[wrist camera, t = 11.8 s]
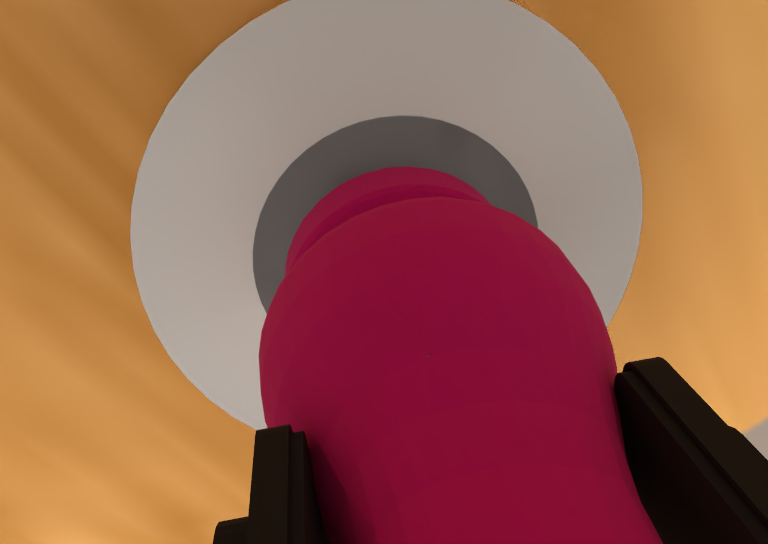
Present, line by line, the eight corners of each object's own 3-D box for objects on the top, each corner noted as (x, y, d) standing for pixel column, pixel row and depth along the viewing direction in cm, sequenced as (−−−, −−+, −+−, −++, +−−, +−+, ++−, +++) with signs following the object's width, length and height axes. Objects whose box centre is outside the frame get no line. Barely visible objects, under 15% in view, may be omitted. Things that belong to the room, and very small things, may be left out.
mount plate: (64, 20, 15) (43, 24, 14) (638, -59, 16) (666, -62, 15) (211, 466, 22) (205, 496, 21) (613, 393, 23) (631, 417, 22)
